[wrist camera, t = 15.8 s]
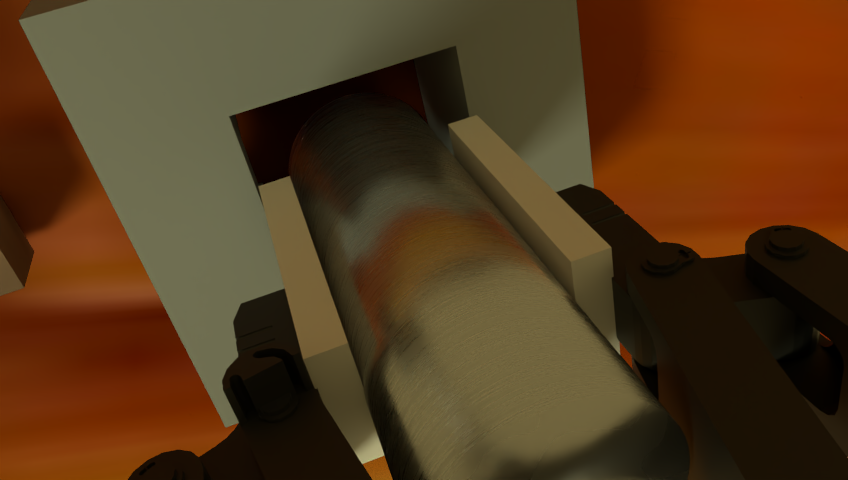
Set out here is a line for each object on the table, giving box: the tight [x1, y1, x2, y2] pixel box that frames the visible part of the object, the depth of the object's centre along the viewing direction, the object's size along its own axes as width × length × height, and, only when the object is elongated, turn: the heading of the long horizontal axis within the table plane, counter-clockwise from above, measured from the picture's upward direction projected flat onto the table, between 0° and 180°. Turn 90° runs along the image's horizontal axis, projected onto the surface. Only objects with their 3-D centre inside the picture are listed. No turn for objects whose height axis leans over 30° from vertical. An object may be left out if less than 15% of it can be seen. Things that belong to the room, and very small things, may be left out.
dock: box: [19, 0, 594, 427], centre depth 21 cm, size 12×12×5 cm
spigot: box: [289, 92, 690, 480], centre depth 15 cm, size 4×4×12 cm
